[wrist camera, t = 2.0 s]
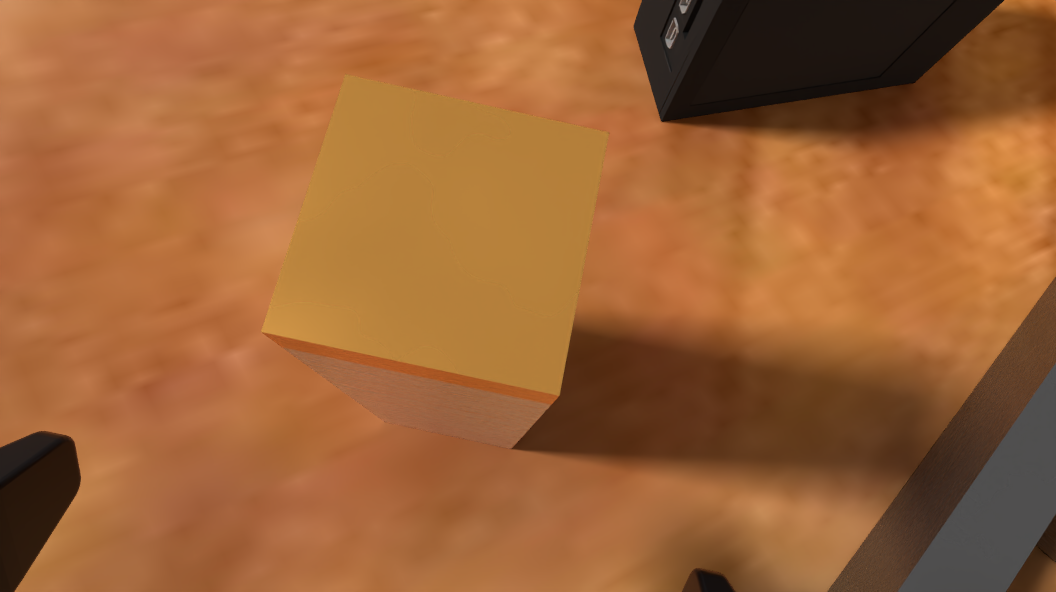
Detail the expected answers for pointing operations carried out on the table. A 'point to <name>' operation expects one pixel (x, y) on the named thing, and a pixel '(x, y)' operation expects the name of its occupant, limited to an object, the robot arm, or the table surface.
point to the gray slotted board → (977, 483)
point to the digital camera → (791, 48)
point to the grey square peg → (440, 259)
